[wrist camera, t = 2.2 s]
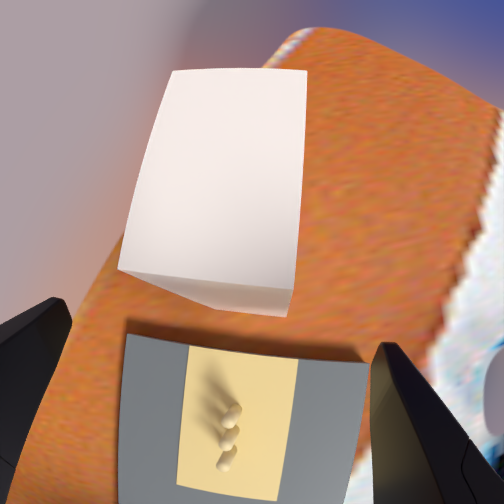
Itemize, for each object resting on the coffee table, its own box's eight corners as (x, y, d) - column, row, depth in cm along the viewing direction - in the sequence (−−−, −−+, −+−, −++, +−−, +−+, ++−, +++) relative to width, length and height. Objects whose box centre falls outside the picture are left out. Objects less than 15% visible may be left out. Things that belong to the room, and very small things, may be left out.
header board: (322, 556, 14) (327, 589, 10) (126, 523, 15) (102, 547, 12) (364, 361, 17) (384, 368, 14) (135, 333, 19) (104, 332, 15)
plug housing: (286, 317, 19) (293, 289, 7) (214, 309, 19) (117, 269, 7) (295, 213, 20) (306, 70, 8) (229, 207, 20) (172, 70, 9)
